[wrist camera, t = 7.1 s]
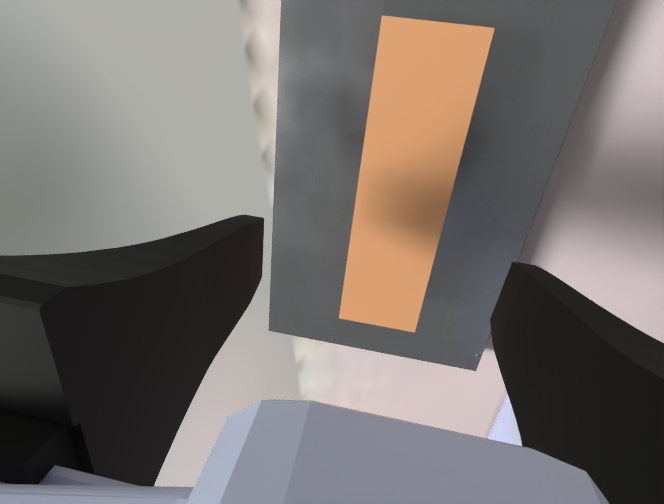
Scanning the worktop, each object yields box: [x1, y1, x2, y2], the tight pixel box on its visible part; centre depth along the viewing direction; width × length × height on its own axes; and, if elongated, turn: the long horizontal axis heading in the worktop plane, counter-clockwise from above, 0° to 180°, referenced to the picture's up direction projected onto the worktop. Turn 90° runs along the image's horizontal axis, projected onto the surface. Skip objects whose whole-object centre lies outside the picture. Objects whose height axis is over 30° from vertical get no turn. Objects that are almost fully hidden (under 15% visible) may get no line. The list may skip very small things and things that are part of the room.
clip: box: [339, 15, 495, 332], centre depth 17 cm, size 12×4×5 cm, turn 174°
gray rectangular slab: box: [269, 0, 616, 371], centre depth 18 cm, size 20×12×2 cm, turn 174°
